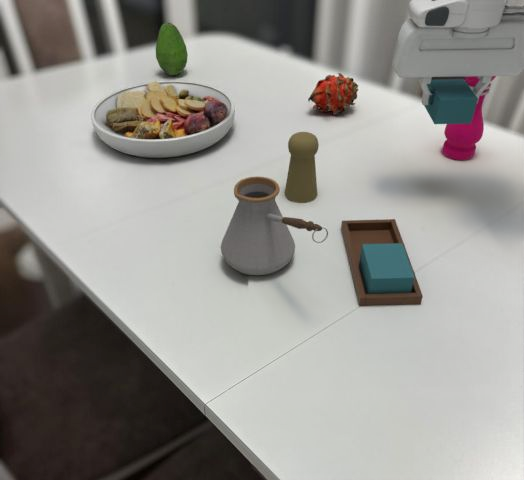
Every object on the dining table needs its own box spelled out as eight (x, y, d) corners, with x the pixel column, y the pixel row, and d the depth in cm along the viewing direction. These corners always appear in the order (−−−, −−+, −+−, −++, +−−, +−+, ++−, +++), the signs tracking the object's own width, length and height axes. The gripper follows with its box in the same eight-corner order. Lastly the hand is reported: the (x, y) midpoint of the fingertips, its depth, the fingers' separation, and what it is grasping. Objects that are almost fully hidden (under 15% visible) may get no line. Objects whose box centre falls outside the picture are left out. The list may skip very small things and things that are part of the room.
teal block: (397, 264, 81) (402, 243, 78) (409, 299, 76) (414, 277, 73) (358, 265, 81) (362, 244, 78) (367, 300, 76) (371, 278, 73)
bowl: (69, 153, 108) (58, 115, 102) (135, 96, 128) (129, 61, 122) (205, 174, 102) (202, 134, 96) (253, 111, 121) (252, 74, 116)
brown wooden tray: (392, 230, 89) (394, 218, 87) (419, 308, 76) (422, 296, 74) (340, 232, 89) (341, 220, 87) (358, 310, 75) (360, 298, 74)
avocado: (170, 82, 133) (163, 29, 125) (153, 74, 137) (145, 22, 129) (195, 74, 137) (190, 22, 128) (177, 66, 141) (171, 15, 132)
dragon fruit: (360, 116, 123) (311, 129, 122) (348, 83, 123) (300, 96, 123) (368, 94, 114) (315, 109, 114) (356, 59, 115) (303, 73, 114)
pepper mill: (437, 158, 105) (464, 48, 91) (441, 142, 110) (468, 35, 95) (475, 164, 104) (509, 52, 89) (477, 147, 108) (510, 39, 94)
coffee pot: (209, 254, 85) (200, 166, 74) (270, 232, 89) (270, 146, 78) (280, 335, 72) (282, 244, 61) (347, 305, 76) (360, 215, 65)
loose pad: (457, 103, 91) (463, 78, 88) (471, 123, 86) (478, 98, 83) (422, 103, 91) (428, 79, 88) (434, 124, 86) (440, 99, 83)
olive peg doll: (278, 190, 98) (279, 132, 90) (306, 182, 100) (309, 124, 92) (294, 206, 94) (297, 146, 86) (323, 197, 96) (328, 138, 88)
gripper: (535, -1, 79) (504, 94, 89) (399, 1, 79) (384, 96, 89) (551, 11, 75) (517, 110, 85) (408, 13, 75) (391, 112, 85)
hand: (448, 103), depth 87 cm, fingers closed on loose pad, 6 cm apart
